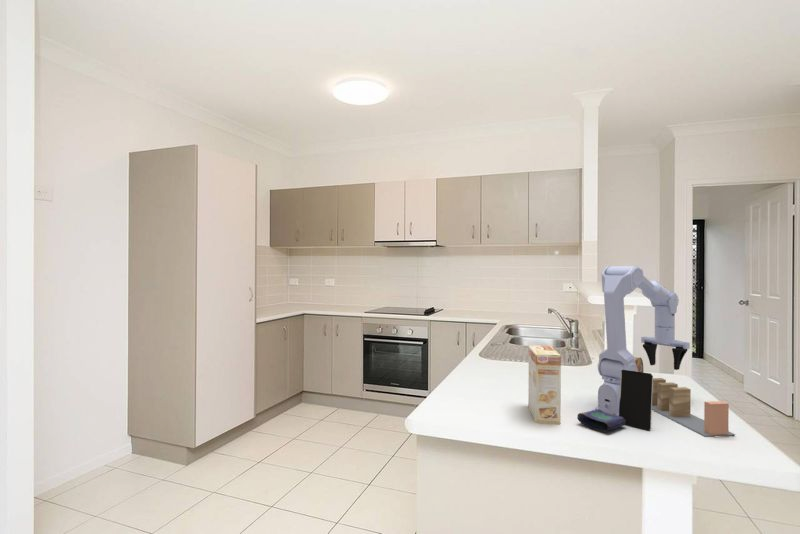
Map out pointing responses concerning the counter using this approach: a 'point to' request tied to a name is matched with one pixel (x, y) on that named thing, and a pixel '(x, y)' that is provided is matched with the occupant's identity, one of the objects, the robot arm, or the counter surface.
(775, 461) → the counter surface
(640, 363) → the tin
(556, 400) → the coffeecake box
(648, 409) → the smartphone
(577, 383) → the counter surface
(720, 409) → the domino
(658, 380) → the domino
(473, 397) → the counter surface
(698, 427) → the mat
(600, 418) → the navy pouch
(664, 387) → the domino
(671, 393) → the domino
